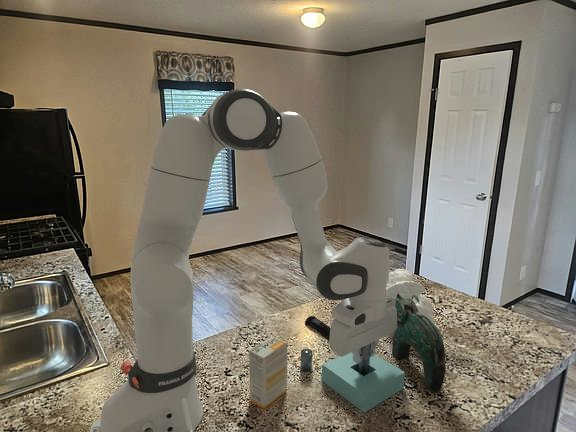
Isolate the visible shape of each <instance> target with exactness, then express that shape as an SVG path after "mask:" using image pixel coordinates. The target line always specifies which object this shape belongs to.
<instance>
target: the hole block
mask: <svg viewBox="0 0 576 432" xmlns="http://www.w3.org/2000/svg"><path fill="white" fill-rule="evenodd" d="M405 375H406V373H405V371H404V370H402V369H400V368H399V367H397V366H396V365H394V364H392V363H390V362H388V361H387V360H385V359H383V358H382V357H380V356H378V355H377V354H374V356H372V357H370V366H369V374H367V375H365V376H363V375H361V374H360V373H358V372H357V363H355V362H354V361H353V354H352V352H351V353H349V354H347V355H345V356H342V357H341V356H339V355H338V356H337V357H335V358H333V359H331V360H329V361H327V362H324V363H322V365H321V382H323V383H324V384H325V385H327V386H328V387H330V389H332V390H333V391H335V392H336V393H337V394H339V395H340V396H341V397H342V398H344V399H345V400H346V401H348V402H349V403H350V404H352V405H353V407H356V408H357V409H359V410H360V411H361V412H362V413H367V412H368V411H369V410H371V409H373V408H375V407H377V406H378V405H380V404H381V403H383V402H384V401H386V400H388V399H389V398H391V397H393V396H394V395H396V394H397V393H399V392H401V391H402V390H404V388H405V387H404V386H405Z"/></svg>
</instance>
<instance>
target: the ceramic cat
mask: <svg viewBox="0 0 576 432" xmlns="http://www.w3.org/2000/svg"><path fill="white" fill-rule="evenodd" d="M413 297H415V298H416V300H417V301H418V303H419V304H420V302H419V299H418V298H417V296H415V295H414V296H412V299H410V298H402V297H401V296H400V295H399V294H397V297H396V299H394V300H395V302H396V303H395V307H396V310H397V328H396V331H395V332H394V333H393V336H392V348H391V354H392V355H393V356H394V357H395V359H398V360H405V359H409V358H410V350H411V348H413V349H415V351H416V352H417V353H418V355H419V357H420V358H421V363H422V368H423V376H424V377H423V379H424V387H425V389H426V390H427V391H428V392H429V393H436V392H441V391H442V388H443V385H444V380H445V375H446V371H447V366H446V350H445V345H444V341H443V337H442V336H441V334H440V331H439V328H437V326H436V325H435V324H433V322H432V321H431V320H430V319H429V318H427V317H426V316H424V315H422V314H420V313H419V312H418V309H417V306H416V304H415V302H414V301H413Z"/></svg>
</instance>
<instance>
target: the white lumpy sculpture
mask: <svg viewBox="0 0 576 432" xmlns="http://www.w3.org/2000/svg"><path fill="white" fill-rule="evenodd" d="M386 290H387V298H388V297H392V298H393V299H396V297H397V294H399V295H400V296H401V297H402V298H410V299H412V296H414V295H415V296H417V298H418V299H419V302H420V304H419V303H418V301H417V300H416V298H415V297H413V301H414V302H415V304H416V306H417V309H418V312H419V313H420V314H422V315H424V316H426V317H427V318H429V319H430V320H431V321H432V322H433V324H434V322H435V320H434V317H433V316H434V314H435V311H434V307H433V304H432V302H431V301H430V300H429V299H428V298H427V296H426V295H424V294H423V293H424V292H425V287H424V285H422V284H421V283H419V282H417V281H414V276H413V274H412V273H411V272H410V271H409V270H406V269H405V268H400V267H399V268H395V269H394V271H389V279H388V282H387V285H386ZM434 325H435V324H434Z"/></svg>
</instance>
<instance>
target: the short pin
mask: <svg viewBox="0 0 576 432" xmlns="http://www.w3.org/2000/svg"><path fill="white" fill-rule="evenodd" d="M300 371H301V372H303V373H311V372H312V371H313V350H312V349H310V348H307V347H306V348H302V349H301V350H300Z"/></svg>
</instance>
